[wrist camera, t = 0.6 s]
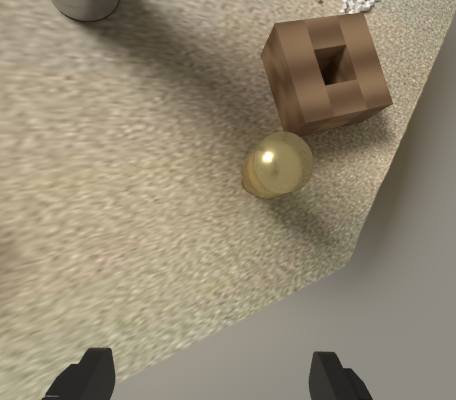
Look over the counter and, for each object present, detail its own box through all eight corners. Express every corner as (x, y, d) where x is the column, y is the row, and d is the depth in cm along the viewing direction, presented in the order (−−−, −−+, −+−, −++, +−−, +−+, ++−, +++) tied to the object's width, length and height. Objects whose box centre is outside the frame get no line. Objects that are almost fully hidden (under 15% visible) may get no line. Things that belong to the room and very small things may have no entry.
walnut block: (260, 54, 38) (274, 23, 32) (337, 43, 40) (363, 12, 35) (286, 139, 37) (305, 123, 31) (362, 121, 40) (393, 103, 34)
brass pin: (227, 166, 35) (248, 138, 24) (266, 156, 36) (303, 126, 25) (239, 207, 35) (265, 198, 23) (278, 196, 36) (321, 183, 25)
